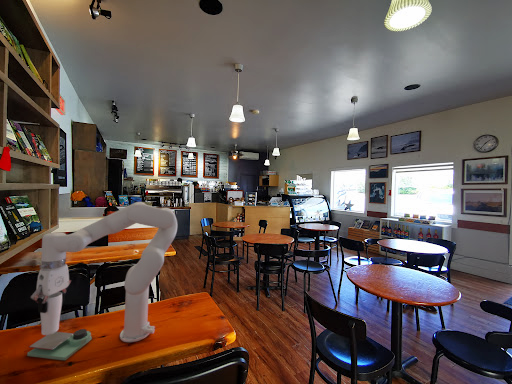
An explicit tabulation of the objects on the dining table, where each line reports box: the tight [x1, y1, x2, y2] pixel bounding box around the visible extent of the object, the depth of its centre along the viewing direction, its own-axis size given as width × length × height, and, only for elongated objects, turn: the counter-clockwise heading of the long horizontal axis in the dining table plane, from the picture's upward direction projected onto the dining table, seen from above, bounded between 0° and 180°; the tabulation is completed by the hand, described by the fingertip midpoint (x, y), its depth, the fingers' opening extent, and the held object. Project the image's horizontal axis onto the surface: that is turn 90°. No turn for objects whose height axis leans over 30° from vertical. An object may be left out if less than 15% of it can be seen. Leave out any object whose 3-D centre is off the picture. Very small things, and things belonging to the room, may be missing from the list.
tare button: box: [73, 328, 88, 340], centre depth 100 cm, size 4×4×2 cm
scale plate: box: [28, 331, 74, 350], centre depth 96 cm, size 10×10×1 cm
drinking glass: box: [39, 292, 63, 336], centre depth 95 cm, size 7×7×15 cm
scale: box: [26, 330, 93, 361], centre depth 97 cm, size 17×14×3 cm
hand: (51, 307), depth 95 cm, fingers closed on drinking glass, 6 cm apart
